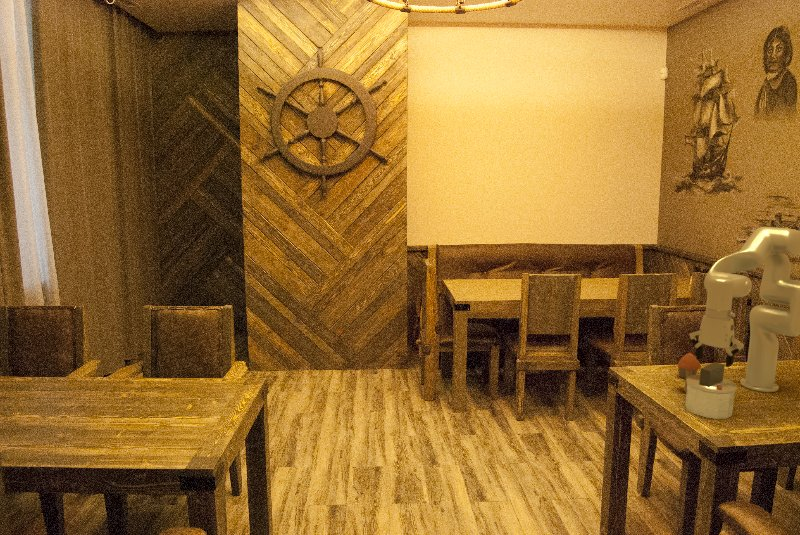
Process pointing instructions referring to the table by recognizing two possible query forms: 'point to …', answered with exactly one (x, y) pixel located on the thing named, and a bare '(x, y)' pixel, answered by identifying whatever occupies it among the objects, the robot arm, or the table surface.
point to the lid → (712, 380)
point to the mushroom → (689, 365)
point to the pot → (709, 403)
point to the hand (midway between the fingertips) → (713, 362)
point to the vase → (683, 372)
